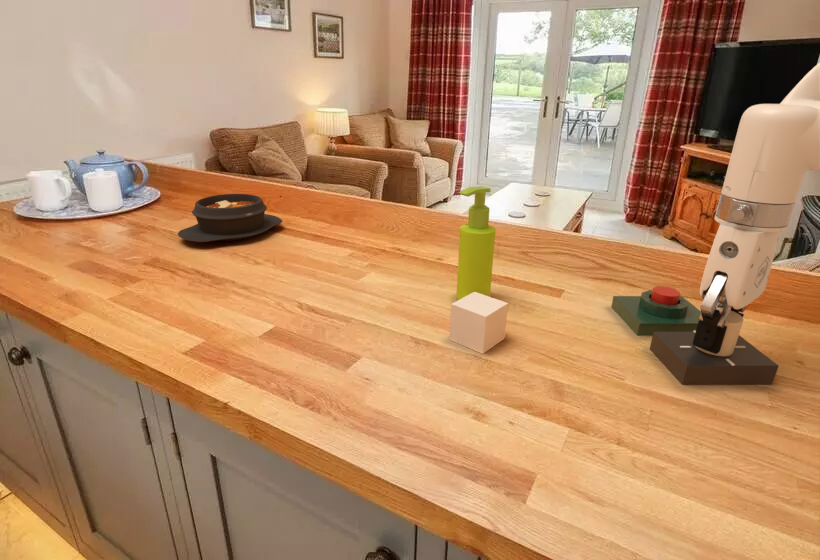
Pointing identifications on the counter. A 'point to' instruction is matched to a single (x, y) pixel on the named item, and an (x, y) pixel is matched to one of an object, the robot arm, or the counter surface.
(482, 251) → the soap dispenser
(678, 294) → the press top
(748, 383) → the dial panel
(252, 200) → the casserole
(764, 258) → the robot arm
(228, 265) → the counter surface
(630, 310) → the button base
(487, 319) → the pale pink cube
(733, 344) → the lock knob
